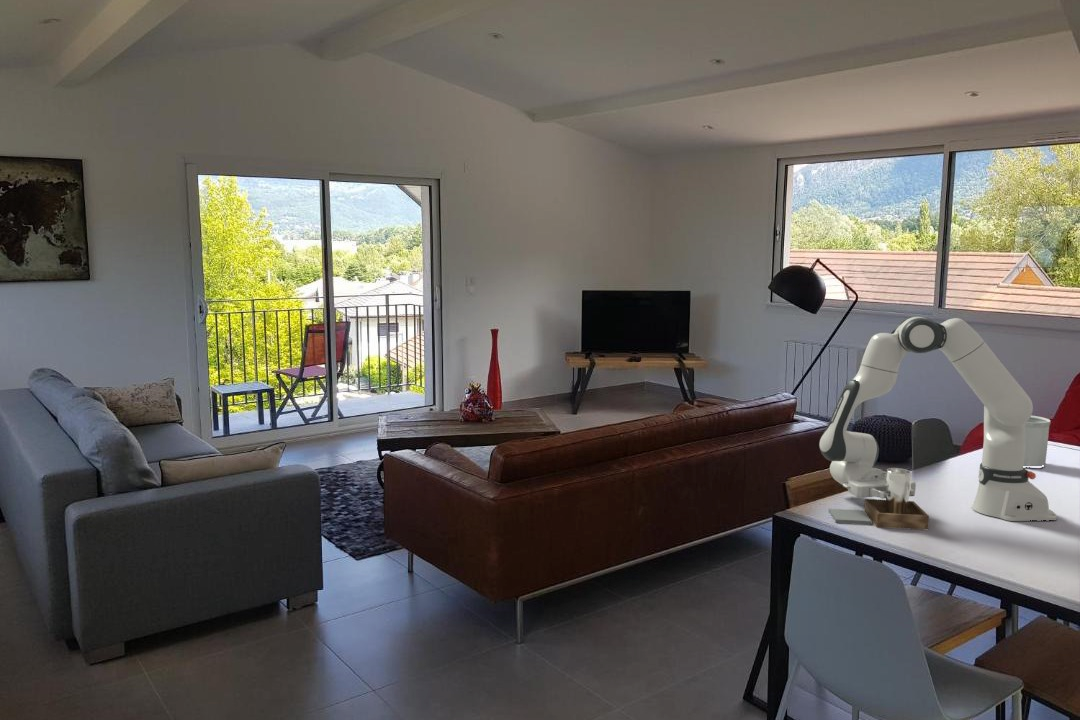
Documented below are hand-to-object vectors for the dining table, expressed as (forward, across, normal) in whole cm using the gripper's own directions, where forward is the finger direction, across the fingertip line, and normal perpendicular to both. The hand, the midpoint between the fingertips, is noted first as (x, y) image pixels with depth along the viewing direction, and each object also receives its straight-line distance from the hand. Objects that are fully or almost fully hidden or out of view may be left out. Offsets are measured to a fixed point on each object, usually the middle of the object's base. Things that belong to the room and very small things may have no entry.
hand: (898, 494), depth 244 cm
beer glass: (-1, 0, +8) cm, 8 cm away
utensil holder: (-46, +90, +8) cm, 102 cm away
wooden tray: (-1, 0, +8) cm, 8 cm away
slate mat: (-6, -12, +8) cm, 16 cm away
